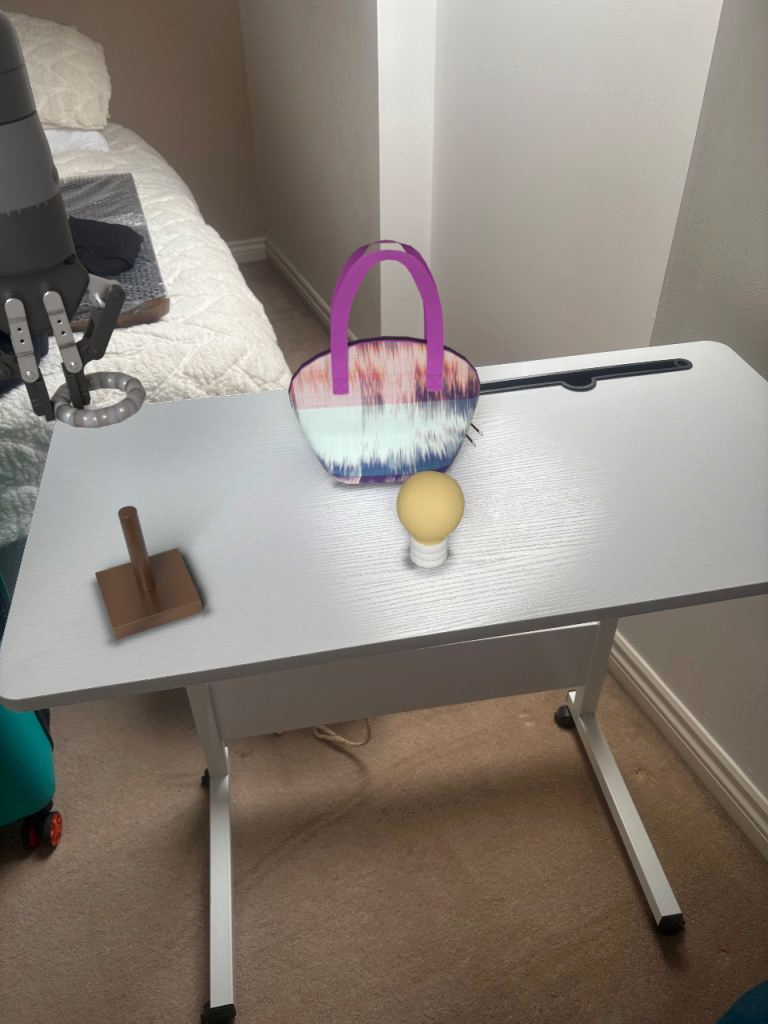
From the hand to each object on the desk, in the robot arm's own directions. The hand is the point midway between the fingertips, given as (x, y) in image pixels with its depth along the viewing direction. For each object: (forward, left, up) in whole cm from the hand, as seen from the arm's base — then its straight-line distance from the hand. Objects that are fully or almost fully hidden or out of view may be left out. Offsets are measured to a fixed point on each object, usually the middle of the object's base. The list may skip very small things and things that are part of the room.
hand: (63, 412), depth 65 cm
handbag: (+33, +8, -21) cm, 39 cm away
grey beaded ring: (+3, 0, 0) cm, 3 cm away
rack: (+3, -2, -20) cm, 21 cm away
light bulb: (+29, -9, -21) cm, 36 cm away
